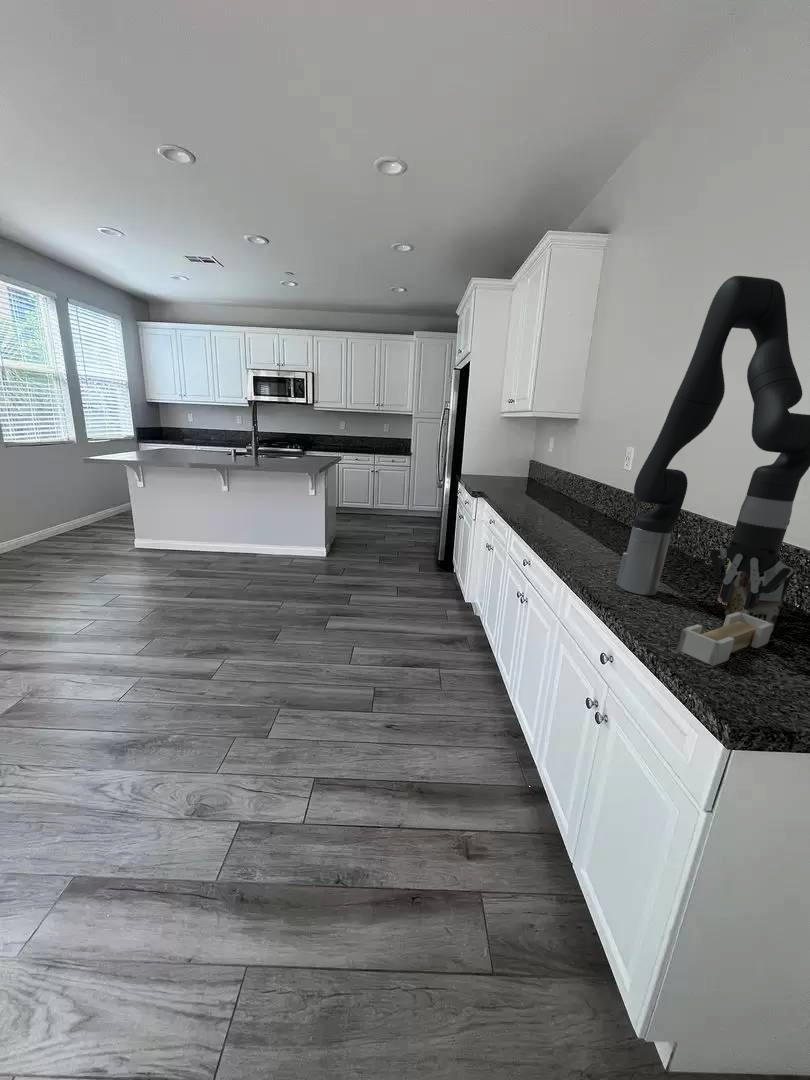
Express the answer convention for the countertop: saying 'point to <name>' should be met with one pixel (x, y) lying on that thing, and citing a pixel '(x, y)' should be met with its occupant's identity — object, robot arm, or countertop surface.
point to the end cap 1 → (704, 646)
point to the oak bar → (734, 634)
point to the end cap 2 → (761, 625)
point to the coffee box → (767, 602)
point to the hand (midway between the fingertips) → (736, 605)
